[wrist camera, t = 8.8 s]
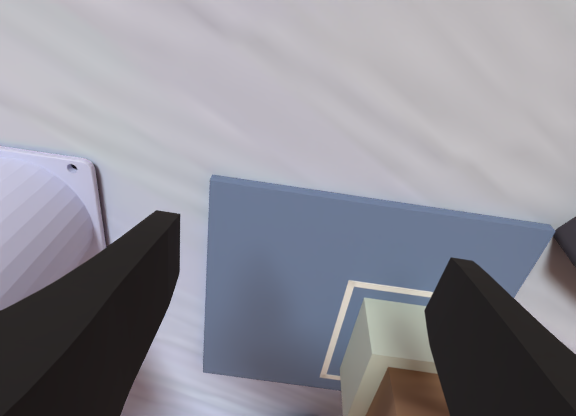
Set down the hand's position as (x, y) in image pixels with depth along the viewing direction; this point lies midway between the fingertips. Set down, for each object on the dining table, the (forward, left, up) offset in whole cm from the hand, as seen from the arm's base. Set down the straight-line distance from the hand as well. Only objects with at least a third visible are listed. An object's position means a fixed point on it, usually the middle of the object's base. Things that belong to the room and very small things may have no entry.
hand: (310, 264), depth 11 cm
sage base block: (+8, -13, -9) cm, 18 cm away
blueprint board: (+4, -11, -10) cm, 16 cm away
